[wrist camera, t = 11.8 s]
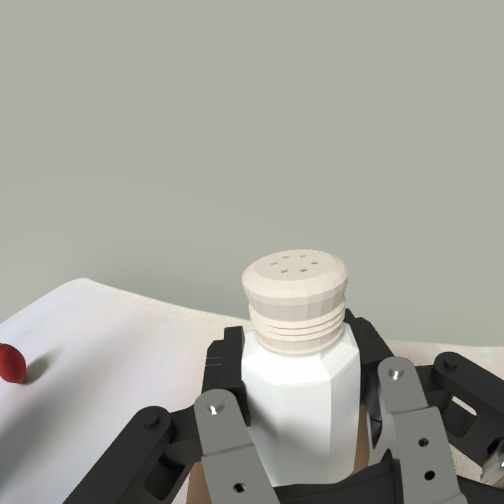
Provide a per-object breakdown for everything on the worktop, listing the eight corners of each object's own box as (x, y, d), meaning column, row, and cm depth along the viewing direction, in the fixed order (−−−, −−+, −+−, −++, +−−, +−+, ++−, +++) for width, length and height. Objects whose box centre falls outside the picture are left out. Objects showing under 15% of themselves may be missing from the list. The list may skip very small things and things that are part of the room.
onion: (25, 366, 30) (2, 328, 27) (40, 376, 28) (13, 334, 25) (6, 386, 25) (-20, 347, 22) (19, 398, 23) (-12, 357, 20)
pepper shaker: (373, 474, 9) (442, 269, 5) (269, 520, 7) (208, 357, 4) (324, 410, 14) (326, 225, 10) (236, 442, 12) (182, 256, 9)
